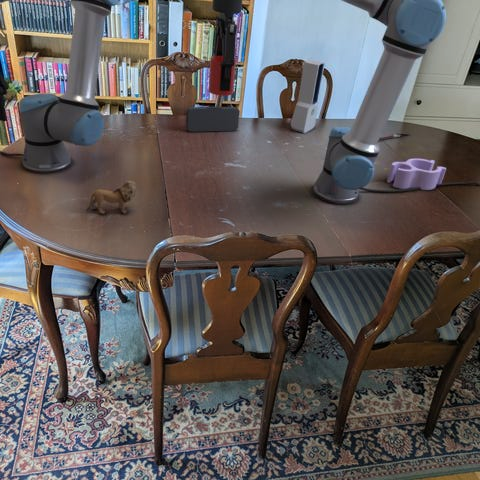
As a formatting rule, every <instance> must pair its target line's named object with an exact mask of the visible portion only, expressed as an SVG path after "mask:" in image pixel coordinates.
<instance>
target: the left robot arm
mask: <svg viewBox="0 0 480 480" xmlns="http://www.w3.org/2000/svg"><path fill="white" fill-rule="evenodd" d="M9 1H11V0H0V4H2V3H5V2H9ZM120 1H121V0H70V4H71V6H72V7H73V9H74V17H73V24H72V25H73V26H72V32H71V33H72V35H71V41H70V43H71V44H70V53H69V61H68V69H67V79H66V88H65V93H63V94H62V95H60V96H59V98H58V96H57V95H56V94H55V93H35V94H30V95H26V96H24V97H22V98H21V99H20V100H19V103H18V105H19V116H20V122H21V127H22V132H23V136H24V148H23V153H7V152H3V151H2V150H0V155H3V156H6V157H22V158H21V159H22V160H21V161H22V166H23V168H24V169H25V170H27V171H29V172H33V173H39V174H46V173H56V172H61V171H63V170H66V169H67V168H69V167H70V166H71V163H72V159H71V155H70V153H69V151H68V150H67V149H68V148H67V147H66V145H65V143H69V144H72V145H75V146H80V147H91V146H93V145H94V144H96V143H97V142H98V141H99V140H100V138H101V137H102V135H103V132H104V128H105V119H104V115H103V113H101V112H100V111H99V107H100V105H99V103H98V101H97V100H96V90H97V83H98V82H97V81H98V74H99V68H100V67H99V66H100V59H101V51H102V43H103V35H104V28H105V20H106V18H107V17H108V16H110V15H111V14H112V7H115V6H117V5H118V4H119V3H120ZM9 90H10V86H9V84H8V82H7V81H6V79H5V77H4V76H3V74H2V72H1V71H0V122H7V121H8V118H7V112H6V100H5V96H7V94H8V91H9ZM64 142H65V143H64Z"/></svg>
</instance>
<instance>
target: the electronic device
mask: <svg viewBox="0 0 480 480" xmlns="http://www.w3.org/2000/svg"><path fill="white" fill-rule="evenodd" d="M325 64H326V63H325V62H324V61H321V60H316V59H311V58H307V59H305V60H304V62H303V68H302V73H301V79H300V85H299V92H298V98H297V102H296V104H295V107H294V111H293V114H292V117H291V120H290V127H291V129H292V131H295V132H299V133H303V134H306V133H307V132H310V131H311V130H312V129H314V128H315V126H316V122H317V115H318V109H319V97H320V91H321V86H322V80H323V76H324V69H325Z"/></svg>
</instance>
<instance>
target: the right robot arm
mask: <svg viewBox="0 0 480 480" xmlns="http://www.w3.org/2000/svg"><path fill="white" fill-rule="evenodd" d="M341 2H344V3H347V4H349V5H351V6H354V7H355V8H358V9H361V10H363V11H365V12H367V13H368V16H369V18H371V19H373V20H375V21H378V22H380V23H381V24H383V25H384V26H385V27H386V29H385V30H384V31H385V32H384V34H383V36H382V39H381V43H382V46H383V52H382V54H381V56H380V58H379V61H378V63H377V66H376V68H375V70H374V72H373V75H372V78H371V81H370V82H369V85H368V88H367V90H366V92H365V94H364V97H363V99H362V102H361V104H360V107H359V109H358V111H357V113H356V117H355V118H354V120H353V123H352V125H351V127H348V126H347V127H346V126H336V127H333V128H332V129H331V130H330V133H329V135H328V142H327V146H326V151H325V156H324V161H323V166H322V170H321V172H320V173H319V176H318V177H317V179H316V181H314V184H313V187H312V188H313V189H312V191H313V194H314V195H315V196H316V197H317V198H318V199H320V200H322V201H325V202H327V203H331V204H336V205H349V204H352V203H355V202H356V201H357V200H358V198H359V190H362V191H366V192H371V193H372V192H373V193H385V194H386V193H403V192H411V191H416V190H422V189H421V187H416V188H407V189H372V188H365V187H367V186H368V185H369V184H370V183H371V182H372V180H373V178H374V177H375V176H374V175H375V162H376V160H377V158H378V155H379V153H380V152H381V148H380V145H379V142H380V141H379V139H380V138H382V134H383V132H384V130H385V127H386V125H387V123H388V121H389V119H390V117H391V114H392V113H393V110H394V109H395V106H396V103H397V101H398V99H399V97H400V95H401V93H402V91H403V88H404V86H405V84H406V82H407V79H408V77H409V75H410V73H411V71H412V69H413V66H414V65H415V62H416V60H417V59H420V58H422V57H424V56H425V54H426V52H427V50H428V48H429V47H430V44H431V43H432V42H434V41H435V40H436V39H437V38H438V37H439V36H440V35H441V33H442V32H443V30H444V28H445V25H446V22H447V11H446V8H445V4H444V2H443V1H442V0H341ZM211 8H212V10H213V11H214V12H215V13H216V12H217V13H219V15H216V16H215V34H214V43H213V44H214V45H213V55H214V56H222V60H223V63H222V64H220V66H221V76H220V91H230V82H231V70H232V66H234V64H235V65H236V63H235V59H236V40H237V30H238V24H236V21H235V15H237V14H241V12H242V11H243V10H242V9H243V0H212V7H211ZM228 60H230V61H228ZM465 182H466V181H465ZM465 182H463V181H462V182H461V181H459V182H457V181H456V182H454V181H453V182H441V184H436V187H441V186H442V187H443V186H452V185H454V186H455V185H472V184H474V185H477V186H478V187H480V183H479V182H478V181H473V180H472V181H468V182H469V183H465ZM477 183H479V184H477Z"/></svg>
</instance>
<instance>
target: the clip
mask: <svg viewBox="0 0 480 480" xmlns="http://www.w3.org/2000/svg"><path fill="white" fill-rule="evenodd" d="M435 162H436V160H433V159H431V160H429V159H424V158H414V157H413V158H409V159H407V160H406V161H393V162H392V163H391V166H390V170H389V172H388V176H387V179H386V183H388V184H391V183H392V182H393V184H392V188H396V189H398V190H402V189H410V188H416V187H421V189H420V190H421V191H422V190H423V191H430V190H434V189H435V188H436V187H437V186H436V184H441V183H443V180H444V176H445V174H446V171H447V167H445V166H440V165H439V166H436V168H435V170H433V168H434V164H435Z"/></svg>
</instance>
